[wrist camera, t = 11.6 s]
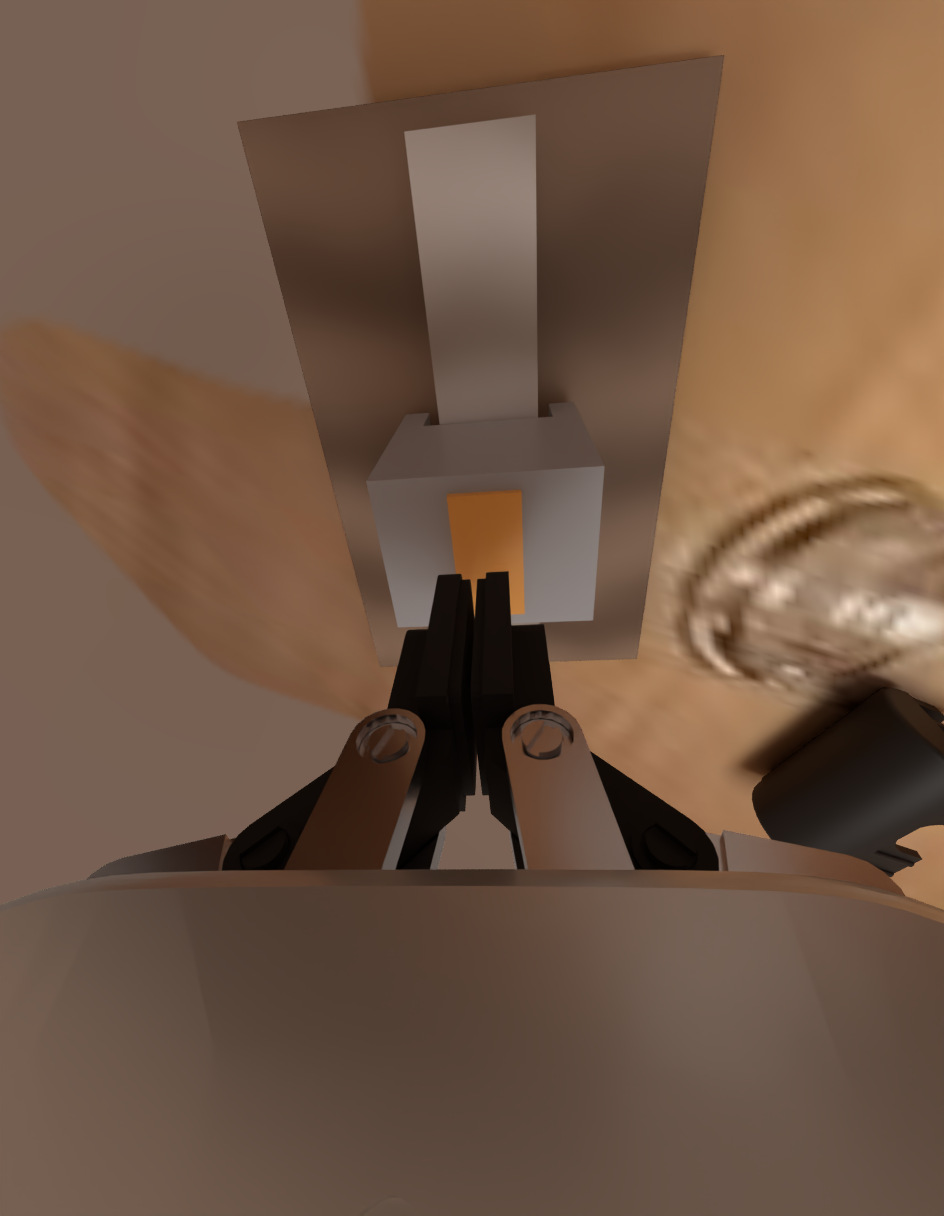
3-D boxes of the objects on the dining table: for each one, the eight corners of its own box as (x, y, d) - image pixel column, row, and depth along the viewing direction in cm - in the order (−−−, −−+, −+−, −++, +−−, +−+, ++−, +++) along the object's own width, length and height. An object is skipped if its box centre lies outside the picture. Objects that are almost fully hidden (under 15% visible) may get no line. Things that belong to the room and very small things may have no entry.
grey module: (405, 414, 19) (364, 483, 13) (573, 401, 18) (605, 468, 12) (424, 532, 22) (396, 631, 16) (569, 524, 21) (594, 624, 15)
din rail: (250, 128, 15) (204, 105, 13) (711, 66, 14) (754, 27, 12) (383, 655, 28) (372, 692, 26) (632, 646, 27) (645, 685, 25)
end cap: (855, 663, 27) (946, 767, 22) (949, 703, 28) (1056, 810, 23) (731, 764, 33) (777, 867, 27) (814, 794, 34) (874, 897, 29)
